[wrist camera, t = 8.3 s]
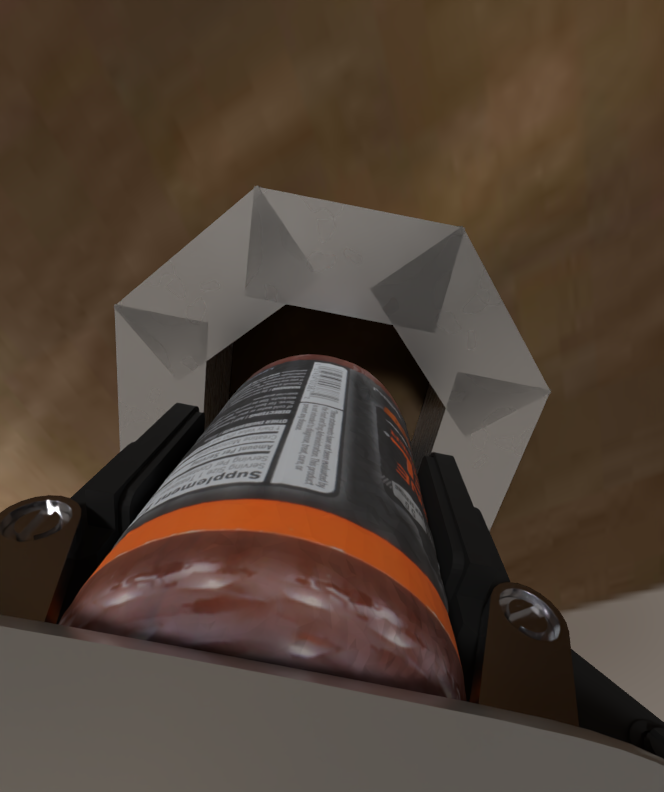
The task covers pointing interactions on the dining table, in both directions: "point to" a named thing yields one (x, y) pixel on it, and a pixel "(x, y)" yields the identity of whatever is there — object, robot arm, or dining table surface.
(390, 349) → the dining table surface
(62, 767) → the robot arm
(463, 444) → the grey octagonal ring
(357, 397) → the supplement bottle
